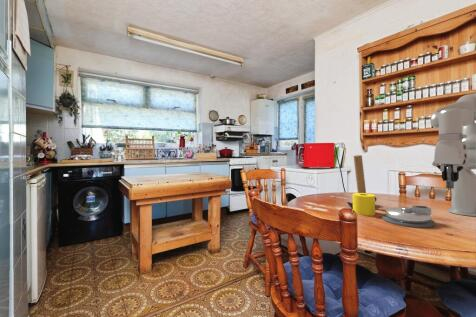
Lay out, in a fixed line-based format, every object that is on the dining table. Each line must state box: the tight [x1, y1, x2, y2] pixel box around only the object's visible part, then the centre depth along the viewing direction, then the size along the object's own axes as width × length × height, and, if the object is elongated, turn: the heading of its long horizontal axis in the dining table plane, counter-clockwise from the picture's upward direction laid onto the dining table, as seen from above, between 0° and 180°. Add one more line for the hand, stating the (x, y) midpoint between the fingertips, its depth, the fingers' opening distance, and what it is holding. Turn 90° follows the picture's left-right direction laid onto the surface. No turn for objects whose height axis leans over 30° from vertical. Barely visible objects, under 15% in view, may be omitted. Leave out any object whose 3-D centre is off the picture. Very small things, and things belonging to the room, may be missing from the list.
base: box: [381, 213, 436, 229], centre depth 104 cm, size 19×19×1 cm
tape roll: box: [352, 192, 376, 217], centre depth 118 cm, size 10×10×9 cm
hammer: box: [346, 154, 378, 209], centre depth 130 cm, size 20×5×30 cm, turn 120°
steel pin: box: [445, 164, 454, 189], centre depth 99 cm, size 2×2×12 cm
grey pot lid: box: [385, 204, 432, 224], centre depth 104 cm, size 16×16×6 cm
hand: (450, 180), depth 100 cm, fingers closed on steel pin, 2 cm apart
